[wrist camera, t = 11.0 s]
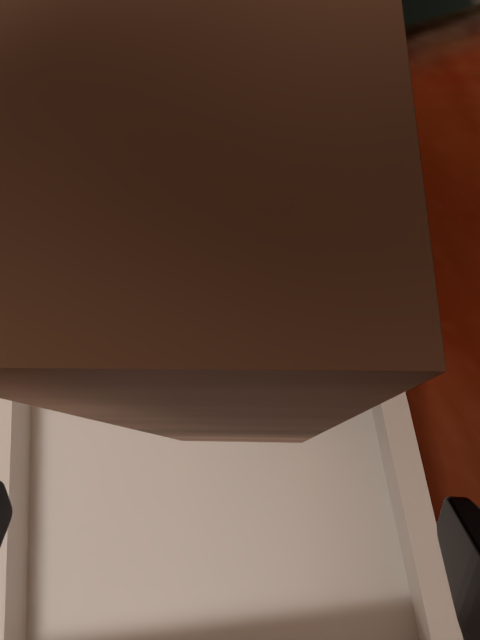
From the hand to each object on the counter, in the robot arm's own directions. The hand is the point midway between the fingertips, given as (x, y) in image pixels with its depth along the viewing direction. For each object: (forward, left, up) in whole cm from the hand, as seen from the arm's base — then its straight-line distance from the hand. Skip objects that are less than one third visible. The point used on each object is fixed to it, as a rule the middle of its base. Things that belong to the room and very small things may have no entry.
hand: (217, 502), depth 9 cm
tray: (+2, +1, -10) cm, 10 cm away
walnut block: (+4, 0, -9) cm, 10 cm away
